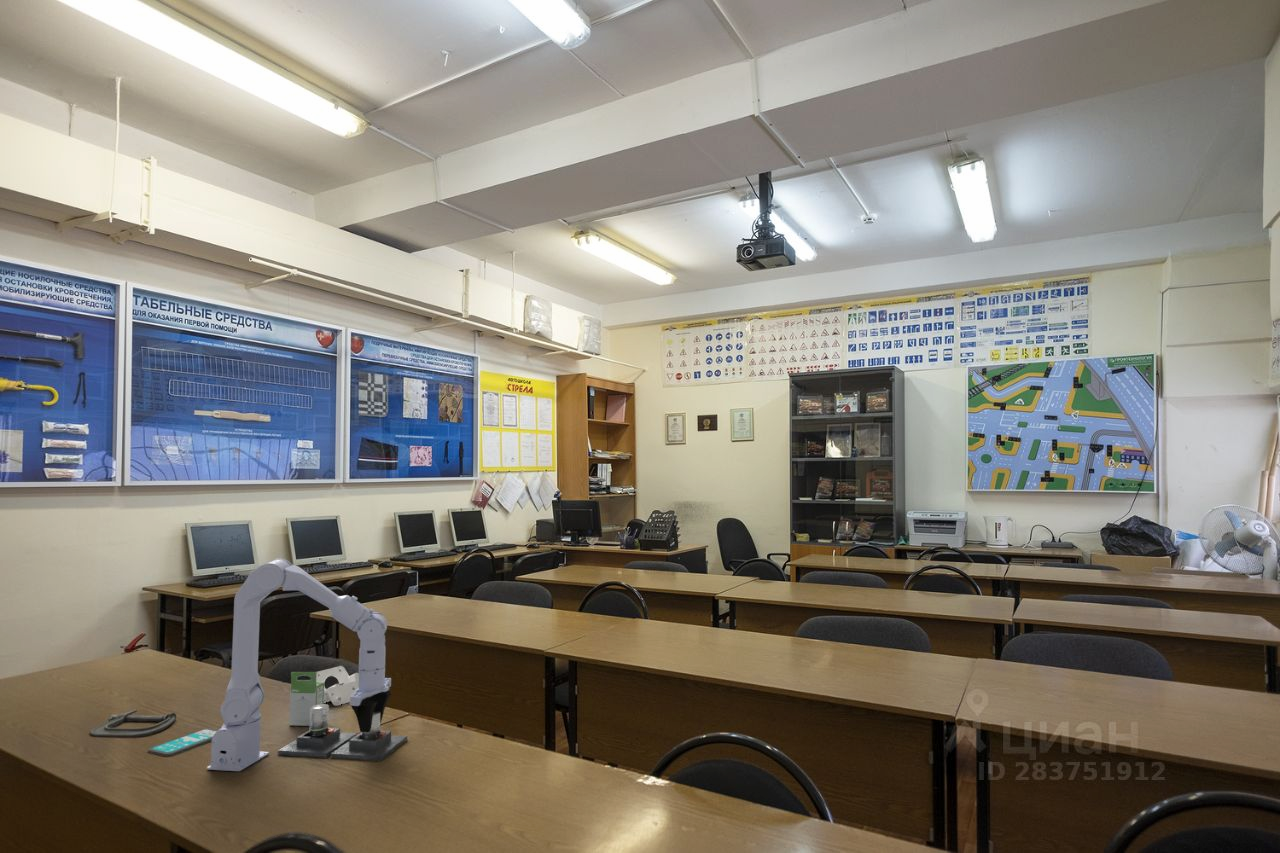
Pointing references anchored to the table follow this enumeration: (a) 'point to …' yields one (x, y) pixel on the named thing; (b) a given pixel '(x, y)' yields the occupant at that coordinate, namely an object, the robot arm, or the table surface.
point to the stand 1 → (317, 744)
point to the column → (373, 728)
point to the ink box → (304, 697)
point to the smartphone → (184, 743)
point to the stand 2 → (369, 747)
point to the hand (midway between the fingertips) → (370, 727)
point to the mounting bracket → (338, 692)
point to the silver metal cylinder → (319, 720)
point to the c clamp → (116, 720)
